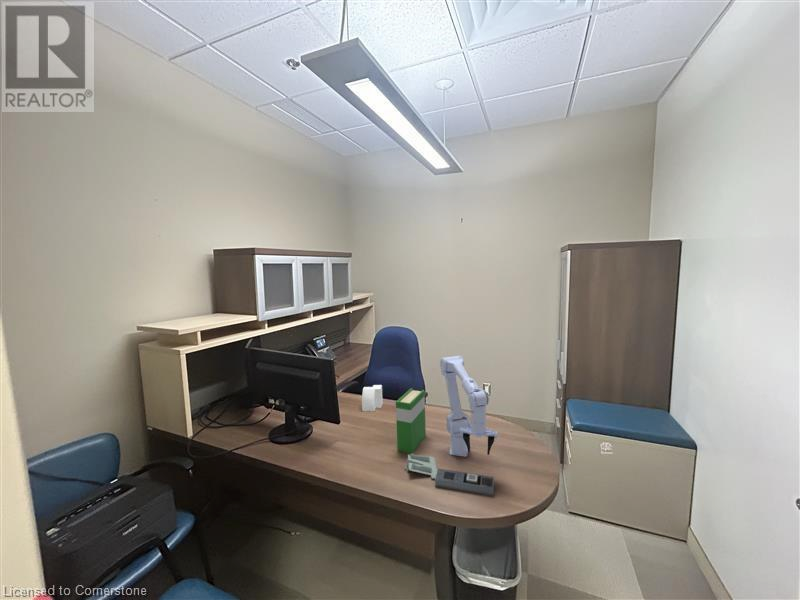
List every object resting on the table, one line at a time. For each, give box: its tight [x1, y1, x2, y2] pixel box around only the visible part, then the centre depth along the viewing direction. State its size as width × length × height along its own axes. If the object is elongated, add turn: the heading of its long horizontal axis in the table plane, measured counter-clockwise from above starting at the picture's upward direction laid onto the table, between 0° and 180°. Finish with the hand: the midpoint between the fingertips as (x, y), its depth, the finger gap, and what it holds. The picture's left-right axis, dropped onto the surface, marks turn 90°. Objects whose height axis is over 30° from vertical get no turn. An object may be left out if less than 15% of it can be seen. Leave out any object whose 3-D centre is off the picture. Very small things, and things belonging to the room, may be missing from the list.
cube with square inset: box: [465, 472, 479, 485], centre depth 129 cm, size 4×4×4 cm
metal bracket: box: [404, 452, 438, 480], centre depth 141 cm, size 14×6×15 cm
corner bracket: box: [361, 384, 384, 412], centre depth 202 cm, size 11×11×12 cm
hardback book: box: [395, 387, 427, 455], centre depth 160 cm, size 18×7×24 cm, turn 155°
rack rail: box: [434, 468, 495, 497], centre depth 130 cm, size 7×22×3 cm, turn 73°
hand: (478, 452), depth 135 cm, fingers open, 7 cm apart
